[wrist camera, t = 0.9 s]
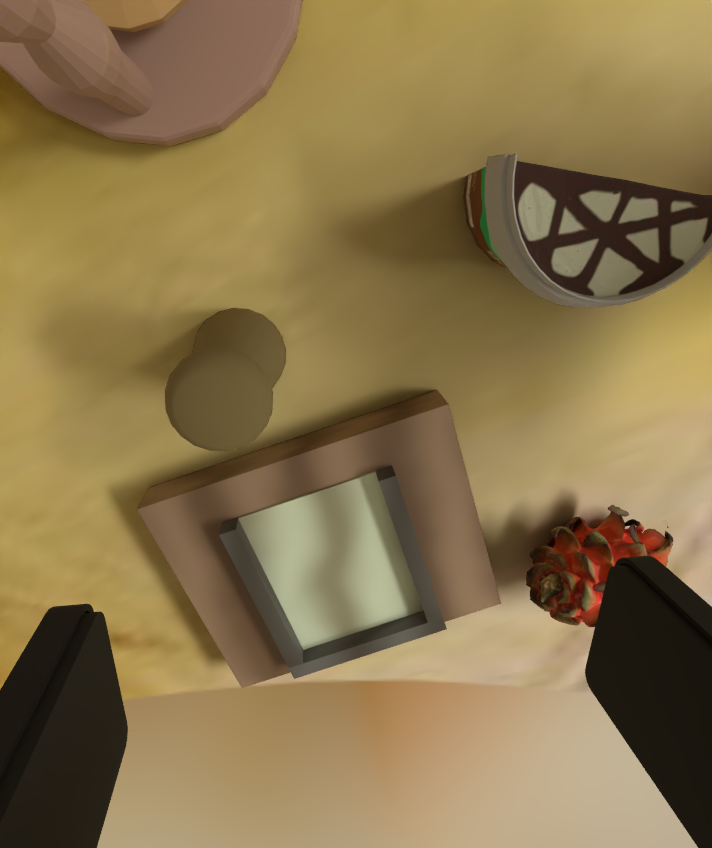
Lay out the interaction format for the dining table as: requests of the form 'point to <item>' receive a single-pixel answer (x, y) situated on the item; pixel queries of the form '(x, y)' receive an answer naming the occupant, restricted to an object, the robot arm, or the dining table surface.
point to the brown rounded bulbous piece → (227, 381)
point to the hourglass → (147, 61)
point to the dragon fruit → (587, 564)
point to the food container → (585, 231)
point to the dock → (328, 542)
